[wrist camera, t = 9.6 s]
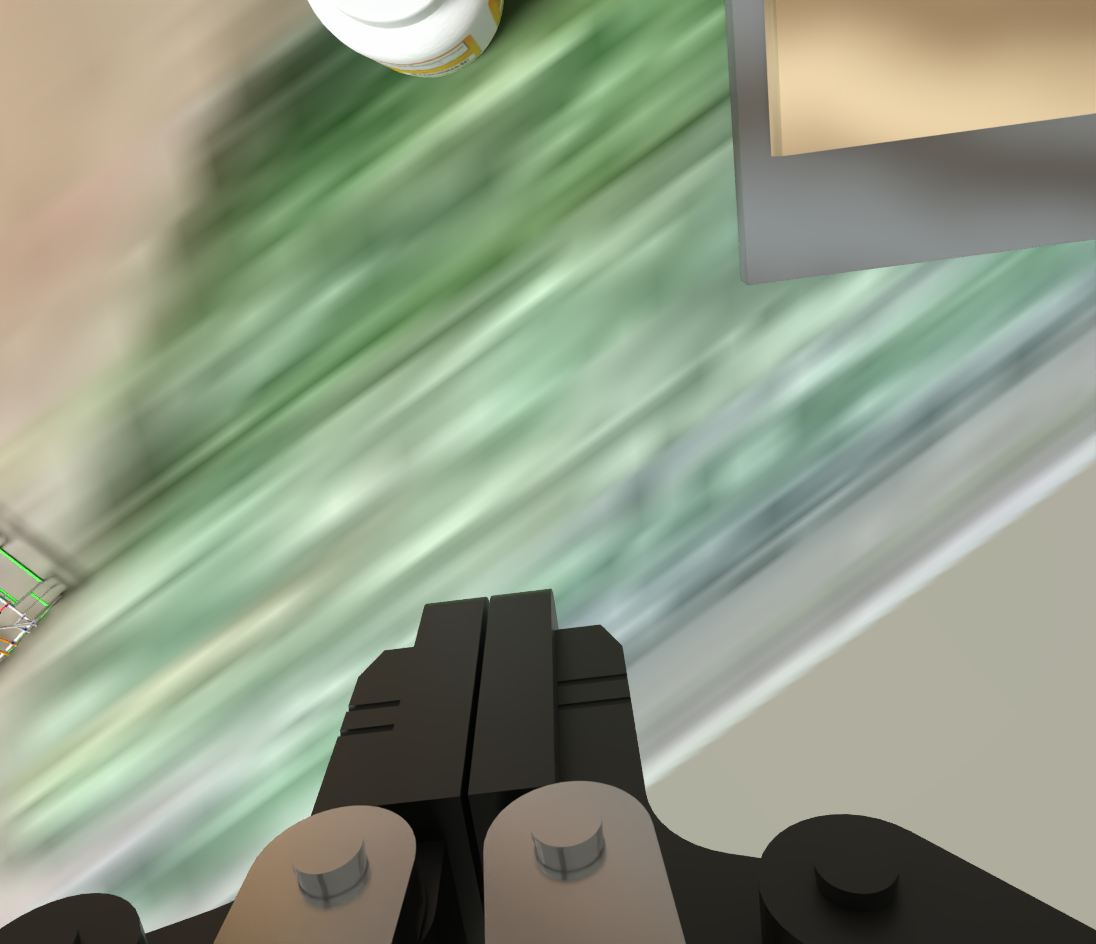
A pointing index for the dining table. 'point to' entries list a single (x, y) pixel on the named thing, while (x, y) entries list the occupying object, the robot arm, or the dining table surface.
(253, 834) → the dining table surface
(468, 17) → the supplement bottle
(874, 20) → the oak plank
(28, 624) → the roof frame
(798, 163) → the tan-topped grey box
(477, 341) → the dining table surface
